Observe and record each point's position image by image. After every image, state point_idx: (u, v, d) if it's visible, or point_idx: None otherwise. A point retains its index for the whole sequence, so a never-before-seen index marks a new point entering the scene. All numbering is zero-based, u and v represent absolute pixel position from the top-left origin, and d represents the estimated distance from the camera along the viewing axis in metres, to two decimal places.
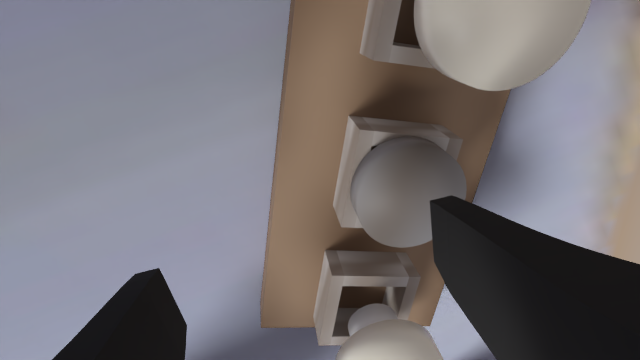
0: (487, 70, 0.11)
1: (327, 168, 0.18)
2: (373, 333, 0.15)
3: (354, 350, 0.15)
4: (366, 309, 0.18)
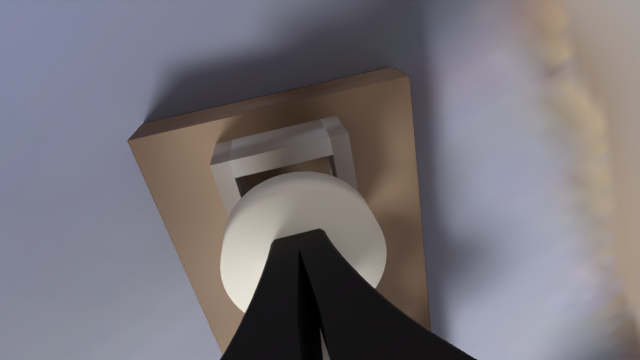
0: None
1: None
2: None
3: None
4: None
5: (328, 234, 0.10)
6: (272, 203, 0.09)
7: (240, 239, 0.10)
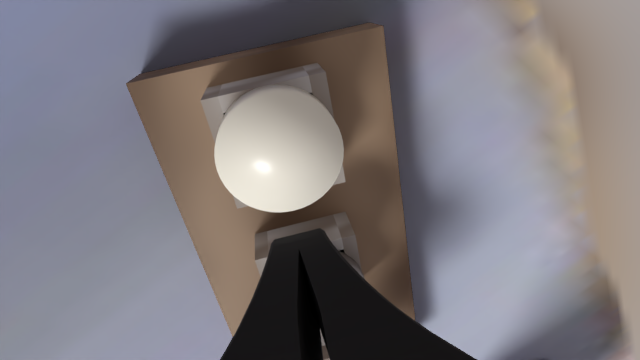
0: (287, 199, 0.14)
1: (257, 278, 0.19)
2: None
3: None
4: None
5: (297, 129, 0.13)
6: (253, 100, 0.12)
7: (229, 130, 0.13)
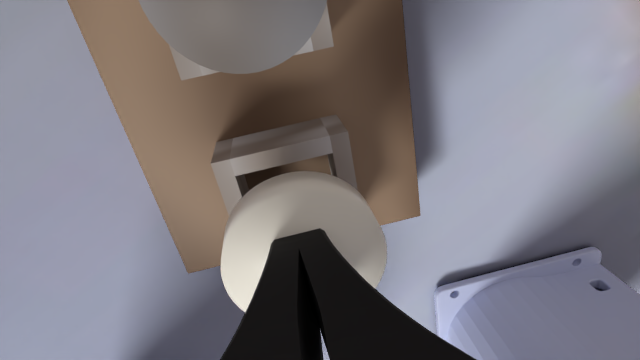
0: None
1: None
2: (247, 199, 0.10)
3: (227, 231, 0.10)
4: None
5: None
6: None
7: None
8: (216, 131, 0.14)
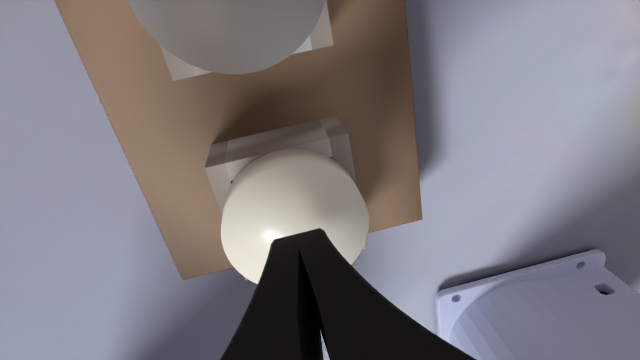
0: None
1: None
2: (244, 173, 0.11)
3: (226, 202, 0.11)
4: None
5: None
6: None
7: None
8: (211, 133, 0.13)
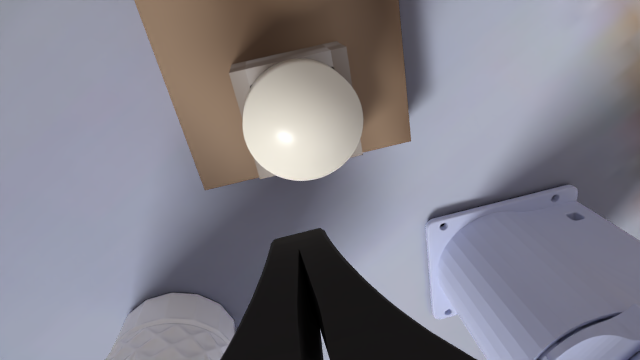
0: None
1: None
2: (261, 76, 0.14)
3: (246, 99, 0.14)
4: None
5: None
6: None
7: None
8: (232, 54, 0.16)
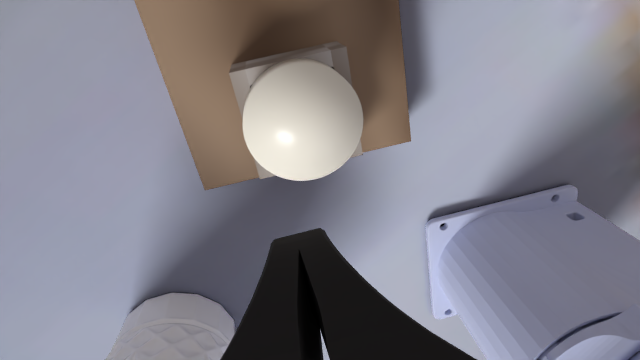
0: None
1: None
2: (261, 76, 0.14)
3: (246, 99, 0.14)
4: None
5: None
6: None
7: None
8: (232, 54, 0.16)
